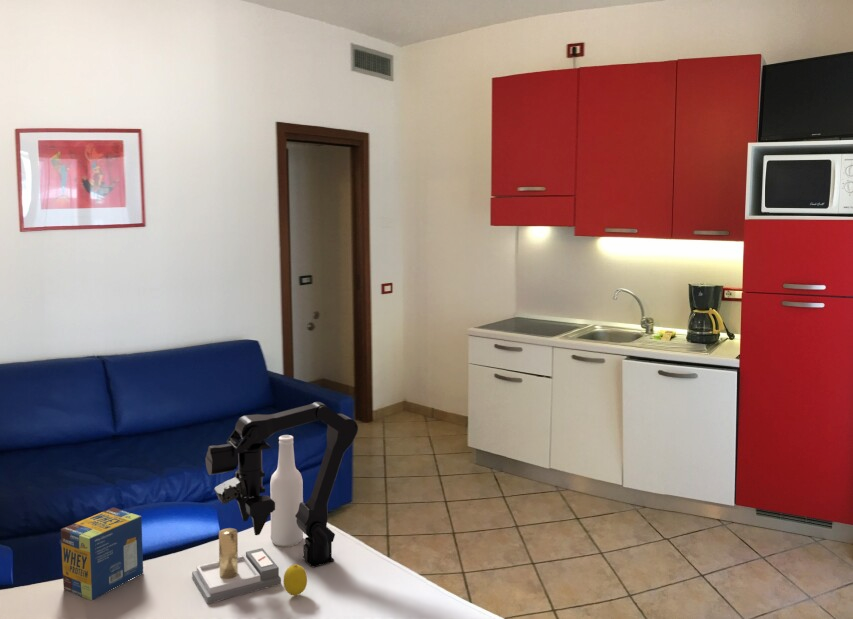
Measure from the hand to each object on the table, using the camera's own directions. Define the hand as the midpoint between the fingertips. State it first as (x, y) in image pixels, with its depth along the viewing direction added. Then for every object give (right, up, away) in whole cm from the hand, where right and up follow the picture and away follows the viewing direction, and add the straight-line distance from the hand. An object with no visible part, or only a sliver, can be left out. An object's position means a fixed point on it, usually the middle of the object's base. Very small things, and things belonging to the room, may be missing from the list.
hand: (251, 527), depth 179 cm
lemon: (+12, -14, -7) cm, 20 cm away
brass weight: (-5, -11, -2) cm, 12 cm away
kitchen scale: (-4, -13, 0) cm, 14 cm away
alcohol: (+5, -11, +22) cm, 25 cm away
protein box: (-36, -13, -2) cm, 38 cm away
